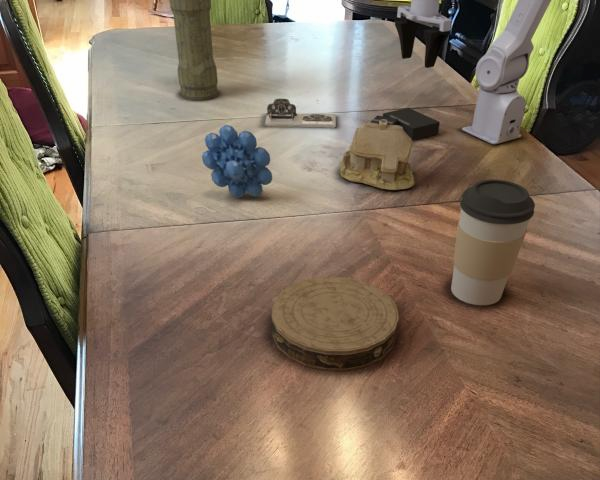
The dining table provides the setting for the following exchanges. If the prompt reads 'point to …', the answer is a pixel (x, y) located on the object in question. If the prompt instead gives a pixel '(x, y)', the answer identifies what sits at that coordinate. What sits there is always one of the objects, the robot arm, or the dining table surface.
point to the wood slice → (334, 323)
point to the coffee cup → (489, 239)
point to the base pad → (414, 123)
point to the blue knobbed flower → (237, 162)
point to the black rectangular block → (389, 120)
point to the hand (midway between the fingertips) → (417, 62)
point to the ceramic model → (379, 157)
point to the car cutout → (295, 116)
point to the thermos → (194, 49)
